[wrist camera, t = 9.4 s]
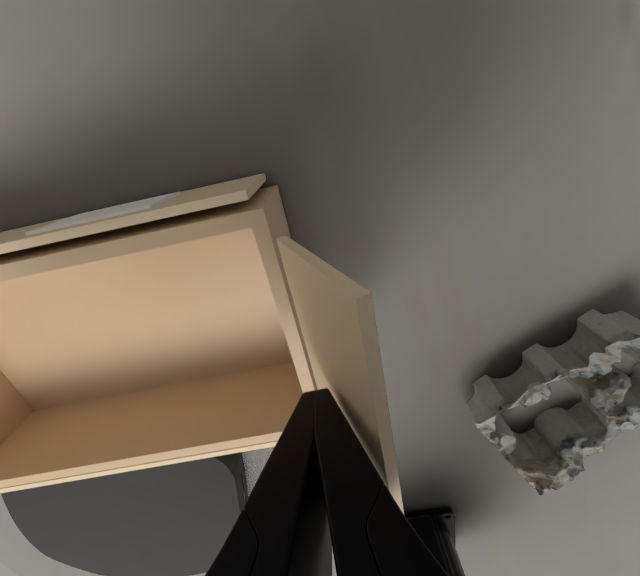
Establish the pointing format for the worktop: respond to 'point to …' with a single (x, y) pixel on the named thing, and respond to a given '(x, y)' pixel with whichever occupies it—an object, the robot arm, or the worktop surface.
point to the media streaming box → (136, 517)
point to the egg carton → (557, 423)
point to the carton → (147, 335)
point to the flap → (344, 351)
